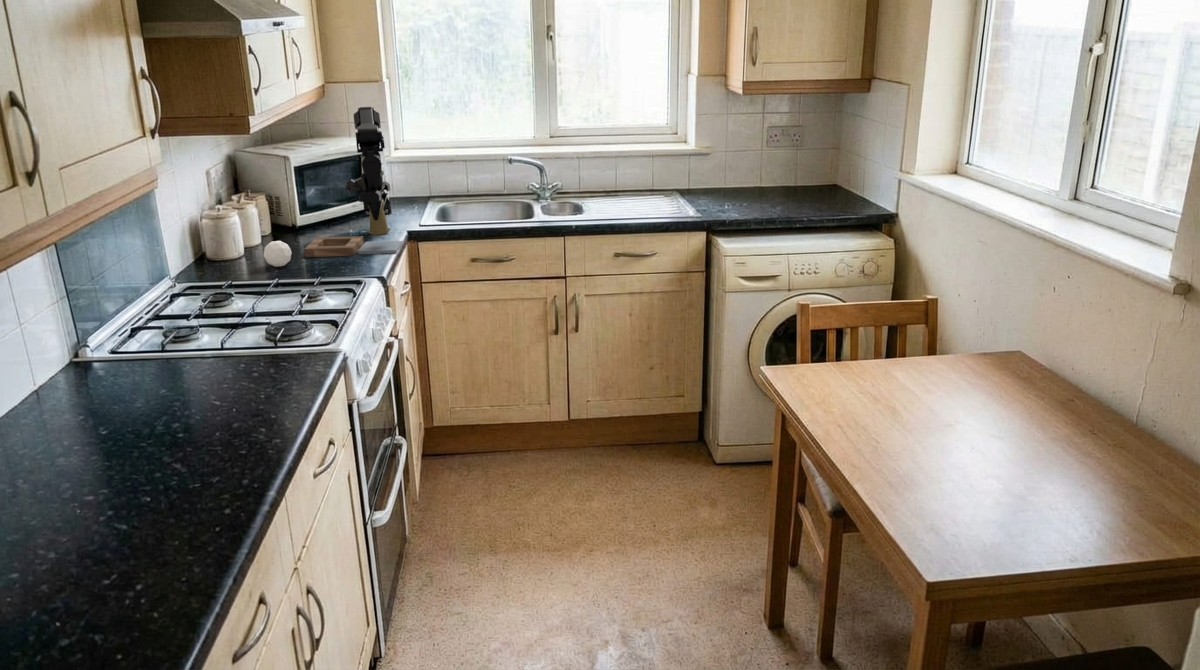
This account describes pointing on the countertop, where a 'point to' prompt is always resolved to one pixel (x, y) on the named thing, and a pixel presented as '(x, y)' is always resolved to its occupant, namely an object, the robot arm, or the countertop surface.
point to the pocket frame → (334, 246)
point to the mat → (380, 247)
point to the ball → (277, 253)
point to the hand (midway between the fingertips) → (377, 218)
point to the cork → (378, 223)
